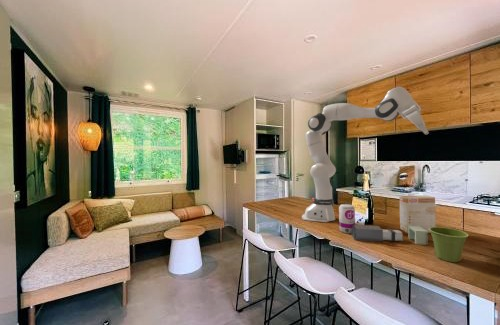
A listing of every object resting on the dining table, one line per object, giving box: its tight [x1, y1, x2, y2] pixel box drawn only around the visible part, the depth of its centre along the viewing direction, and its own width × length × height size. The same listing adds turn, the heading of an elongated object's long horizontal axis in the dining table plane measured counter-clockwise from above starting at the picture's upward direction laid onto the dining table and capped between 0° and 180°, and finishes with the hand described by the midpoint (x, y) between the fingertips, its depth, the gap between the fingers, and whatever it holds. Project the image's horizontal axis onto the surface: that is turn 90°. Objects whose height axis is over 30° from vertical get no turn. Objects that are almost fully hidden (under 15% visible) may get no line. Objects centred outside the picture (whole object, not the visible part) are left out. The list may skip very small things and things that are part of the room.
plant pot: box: [429, 226, 469, 263], centre depth 87 cm, size 12×12×11 cm
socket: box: [407, 226, 429, 246], centre depth 105 cm, size 5×8×6 cm, turn 166°
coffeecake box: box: [398, 194, 437, 234], centre depth 120 cm, size 15×7×20 cm, turn 84°
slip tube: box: [381, 227, 403, 242], centre depth 109 cm, size 21×6×5 cm, turn 76°
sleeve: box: [351, 224, 384, 243], centre depth 111 cm, size 13×7×6 cm, turn 76°
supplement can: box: [338, 203, 356, 234], centre depth 122 cm, size 8×8×15 cm
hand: (426, 133), depth 110 cm, fingers open, 8 cm apart
